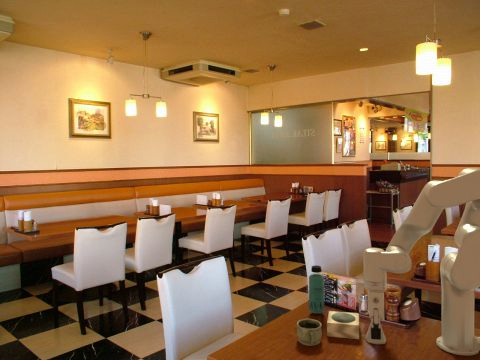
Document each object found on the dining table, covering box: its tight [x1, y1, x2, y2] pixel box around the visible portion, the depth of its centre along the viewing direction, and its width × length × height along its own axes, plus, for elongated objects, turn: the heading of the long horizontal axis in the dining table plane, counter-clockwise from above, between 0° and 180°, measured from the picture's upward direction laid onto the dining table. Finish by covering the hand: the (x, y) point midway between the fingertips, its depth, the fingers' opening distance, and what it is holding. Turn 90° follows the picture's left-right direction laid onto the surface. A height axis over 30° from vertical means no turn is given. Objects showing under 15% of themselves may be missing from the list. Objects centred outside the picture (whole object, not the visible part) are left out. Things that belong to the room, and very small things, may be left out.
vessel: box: [296, 318, 323, 347], centre depth 139 cm, size 12×9×6 cm
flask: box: [364, 317, 387, 345], centre depth 138 cm, size 7×7×10 cm
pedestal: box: [326, 310, 360, 340], centre depth 146 cm, size 11×11×5 cm
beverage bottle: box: [308, 265, 326, 314], centre depth 162 cm, size 6×7×20 cm
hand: (375, 334), depth 138 cm, fingers closed on flask, 4 cm apart
